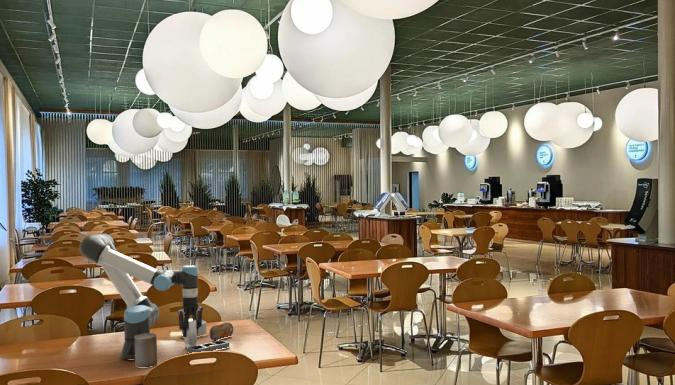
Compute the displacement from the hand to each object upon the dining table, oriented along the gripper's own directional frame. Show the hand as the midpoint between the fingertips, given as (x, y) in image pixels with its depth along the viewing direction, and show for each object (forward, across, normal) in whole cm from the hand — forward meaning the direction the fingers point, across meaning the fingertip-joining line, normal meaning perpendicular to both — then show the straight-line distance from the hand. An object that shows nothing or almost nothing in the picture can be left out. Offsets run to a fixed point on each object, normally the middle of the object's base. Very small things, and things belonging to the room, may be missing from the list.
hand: (190, 342), depth 297 cm
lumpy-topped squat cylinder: (+3, +14, +20) cm, 25 cm away
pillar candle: (+3, -30, -12) cm, 32 cm away
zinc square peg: (+3, 0, 0) cm, 3 cm away
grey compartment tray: (+3, +3, -12) cm, 13 cm away
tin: (+3, +20, +3) cm, 20 cm away
